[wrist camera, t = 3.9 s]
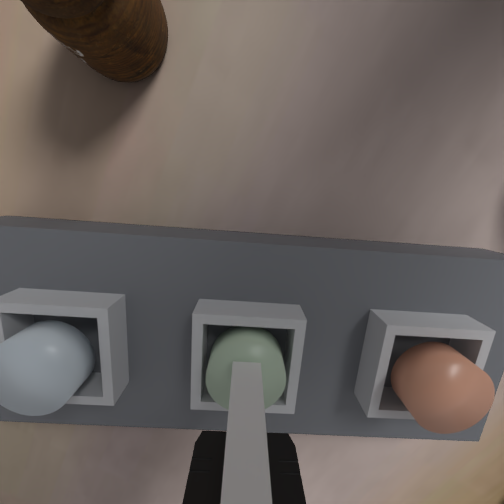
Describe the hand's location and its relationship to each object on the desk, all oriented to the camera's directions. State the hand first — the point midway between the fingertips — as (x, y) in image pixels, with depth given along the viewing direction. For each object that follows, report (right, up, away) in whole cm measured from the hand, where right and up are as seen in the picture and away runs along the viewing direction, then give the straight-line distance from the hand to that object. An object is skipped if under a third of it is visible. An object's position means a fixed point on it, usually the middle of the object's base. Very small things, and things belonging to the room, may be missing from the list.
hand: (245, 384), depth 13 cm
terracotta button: (+11, 0, +2) cm, 11 cm away
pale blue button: (-11, +1, +1) cm, 11 cm away
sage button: (0, +1, +2) cm, 2 cm away
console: (0, +2, +7) cm, 7 cm away
